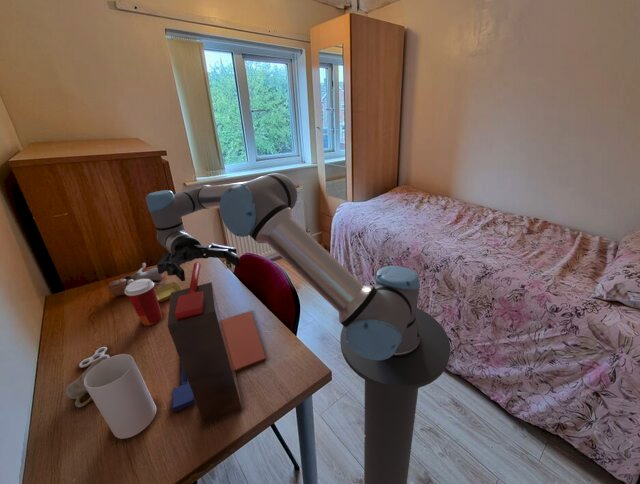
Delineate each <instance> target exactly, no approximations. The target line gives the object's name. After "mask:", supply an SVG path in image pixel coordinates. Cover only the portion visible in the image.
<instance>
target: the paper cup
mask: <svg viewBox="0 0 640 484" xmlns="http://www.w3.org/2000/svg"><path fill="white" fill-rule="evenodd" d="M154 283H155V282H153V280H150V279H140V280H136V281H134V282H132V283H130V284H129V285H128V286H127V287H126V288H125V292H124V293H125V294H124V295H125V296H127V297H128V300H129V301H130V303H131V305H132V307H133V309H134V310H135V312H136V315H137V316H138V318H139V320H140V321H141V324H142V325H144V326H151V325H155V324H156V323H158V322H160V321H161V319H162V318H163V315H162V311H161V306H160V303H159V301H158V299H157V296H156V292H155V289H156V288H155V286H154Z"/></svg>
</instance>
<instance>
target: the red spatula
mask: <svg viewBox="0 0 640 484" xmlns="http://www.w3.org/2000/svg"><path fill="white" fill-rule="evenodd" d="M200 271H201V263H200V262H198V261H197V262H194V264H193V268H192V273H191V279H190V282H189V287H188V288H189V293H188V294H187V295H182V296H179V298H178V302H177V306H176V310H175V316H176V319H181V318H185V317H189V316H193V315H197V314H201V313H203V304H204V293H203V291H201V292H196V291H197V286H198V283H199V279H200V278H199V277H200Z"/></svg>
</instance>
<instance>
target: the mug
mask: <svg viewBox="0 0 640 484" xmlns="http://www.w3.org/2000/svg"><path fill="white" fill-rule="evenodd" d="M98 358H99V357H98ZM105 359H107V357H102V358H99V359H98V360H96V361H95V362H93V363H92V364H90V365H89V366H87V368H86V369H85V371H84V372H83V373H82V374H81V375H80V376H79V377H78V378H77V379H76V380H74V381H73V382H71V383H70V384H68V385H67V387H66V389H65V395H66V397H67V398H69V399H70V400H75V401H74V405H75V407H77V408H82V407H84V406H86V405H88V404H89V403H91V402H92V401H93V399H92V397H91V396H90V397H89V398H88V399H87V400H86V401H83V402H81V399H82V398H83V397H84V396H85V395H87V394H89V392H88V391H87V389H86V387H85V386H84V378H85V376H86V374H87V373H88V372H89V371H90V370H91V369H92V368H93V367H94V366H95V365H97V364H98V363H100V362H101V361H103V360H105Z"/></svg>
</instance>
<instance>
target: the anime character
mask: <svg viewBox="0 0 640 484" xmlns="http://www.w3.org/2000/svg"><path fill="white" fill-rule="evenodd" d="M146 267H147V263H146V262H142V263H141V267H140V268H139V269H138V271H136V272H135V273H134V275H132V276H131V275H126V276H125V277H124V278H119V279H118V280H113V281H110V282H109V283H108V289H109V291H110V294H111V295H113V296H114V297H120V296H124V295H126V294H125V293H124V292H125V288H126V287H127V286H128V285H129V284H130V283H132V282H134V281H136V280H140V279H150V280H151V281H157V282H154V287H157V286H158V287H159V286H160V287H162V286H167V284H168V283H167V282H165V281H163V279H164V278H165V272H164V273H162V274H158V268H157V266H154V267H153V268H151V269H148V270H146V271H143V270H144V269H146Z"/></svg>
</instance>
